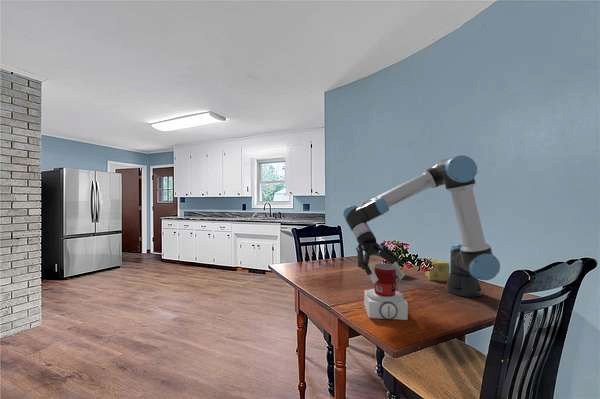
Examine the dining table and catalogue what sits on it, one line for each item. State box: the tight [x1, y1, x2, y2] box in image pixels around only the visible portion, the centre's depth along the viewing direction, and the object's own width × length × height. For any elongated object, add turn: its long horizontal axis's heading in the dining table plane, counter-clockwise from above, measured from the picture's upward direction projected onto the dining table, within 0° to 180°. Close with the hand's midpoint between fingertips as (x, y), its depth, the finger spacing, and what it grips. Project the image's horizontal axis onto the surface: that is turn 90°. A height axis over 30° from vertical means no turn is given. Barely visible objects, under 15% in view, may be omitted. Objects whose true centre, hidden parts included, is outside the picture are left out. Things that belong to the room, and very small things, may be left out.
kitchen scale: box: [363, 288, 409, 321], centre depth 115 cm, size 14×15×7 cm
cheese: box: [424, 258, 450, 282], centre depth 166 cm, size 10×11×10 cm
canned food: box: [374, 263, 397, 297], centre depth 116 cm, size 8×8×11 cm
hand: (389, 279), depth 114 cm, fingers open, 13 cm apart
